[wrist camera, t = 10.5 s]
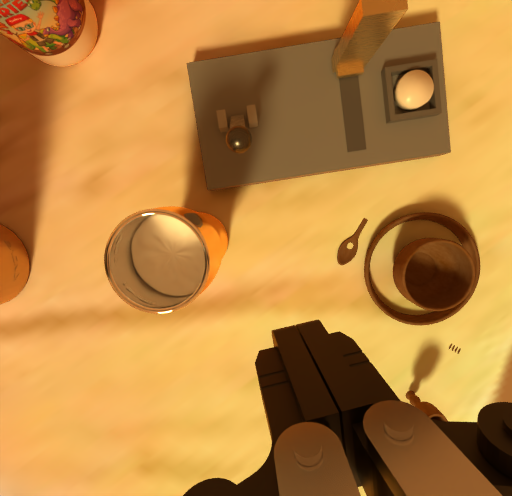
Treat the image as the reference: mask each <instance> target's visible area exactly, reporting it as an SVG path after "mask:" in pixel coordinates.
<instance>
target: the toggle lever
mask: <svg viewBox="0 0 512 496" xmlns="http://www.w3.org/2000/svg"><path fill="white" fill-rule="evenodd" d="M226 144H227V146H228V148H229V149H230V150H231V151H233V152H235V153H244V152H246V151H247V150H248V149H249V148H250V147H251V144H252V135H251V132H250V131H249V130H248V129H247V128H246V127H245V122H244V116H243V114H242V115H236V116H231V121H230V129H229V131H228V132H227V134H226Z"/></svg>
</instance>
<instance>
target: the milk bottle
mask: <svg viewBox="0 0 512 496" xmlns="http://www.w3.org/2000/svg"><path fill="white" fill-rule="evenodd" d="M0 33H1V34H2V35H4V36H5V37H7V38H8V39H10V40H11V41H13V42H14V43H15V44H17V45H18V46H20V47H21V48H23V49H24V50H26V51H27V52H28V53H30V54H31V55H33V56H34V57H36V58H38V59H39V60H41V61H42V62H44V63H47V64H49V65H53V66H60V67H63V66H71V65H75V64H77V63H79V62H81V61H83V60H84V59H85V58H86V57H87V56H88V55H89V54H90V53H91V51H92V50H93V48H94V46H95V44H96V40H97V36H98V24H97V17H96V14H95V11H94V9H93V7H92V5H91V3H90V2H89V0H0Z"/></svg>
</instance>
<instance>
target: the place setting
mask: <svg viewBox="0 0 512 496" xmlns="http://www.w3.org/2000/svg"><path fill="white" fill-rule="evenodd" d="M412 220H429V221H434V222H437V223H439V224H441V225H443V226H445V227H447V228H448V229H450V230H451V231H452V232H453V233H454V234H455V235H456V236H457V238H458V239H459V241H460V242H461V244H462V246H463V247H462V246H461V245H459V244H458V243H456V242H453V241H450V240H445V239H438V238H424V239H419V240H416V241H414V242H412V243H410V244H408V245H407V246H405V247H404V248H403V249H402V250H401V251H400V253H399V254H398V256H397V258H396V260H395V262H394V266H393V278H394V282H395V285H396V287H397V288H398V290H399V291H400V293H401V294H402V295H403V296H404V297H405V298H406V299H408V300H409V301H411V302H412V303H414V304H416V305H417V306H419V307H421V308H423V309H426V310H430V311H434V312H431V313H428V314H424V315H407V314H403V313H400V312H397V311H395V310H393V309H391V308H390V307H388V306H387V305H385V304H384V303H383V302H382V301H381V300H380V299H379V297H378V296H377V294H376V293H375V291H374V289H373V287H372V283H371V280H370V272H369V268H370V260H371V256H372V253H373V251H374V249H375V247H376V245H377V243H378V242H379V240H380V239H381V238H382V237H383V236H384V235H385V234H386V233H387V232H388V231H389V230H391V229H392V228H394V227H395V226H397V225H399V224H401V223H404V222H407V221H412ZM367 221H368V220H367V219H365V218H364V219H363V220H362V222H361V224H360V226H359V227H358V229H357V231H356V232H355V234H354V235H353V236H352V237H350V238H348V239H347V240H345V241H344V242H343V243H342V244H341V246H340V248H339V250H338V255H337V260H338V263H339V264H340V265H344V264H346V263H348V262H350V261H351V260H352V259H353V258H354V256H355V255H356V252H357V248H358V238H359V235H360V233H361V231H362V229H363V228H364V226H365V224H366V223H367ZM349 242H351V243H353V245H354V246H353V248H352V249H348V248H347V244H348V243H349ZM479 274H480V257H479V252H478V249H477V246H476V244H475V242H474V240H473V238H472V237H471V235H470V234H469V233H468V231H467V230H466V229H465V228H464V227H463V226H462V225H461V224H459V223H458V222H456V221H455V220H453V219H451V218H449V217H447V216H444V215H441V214H436V213H415V214H410V215H406V216H404V217H401V218H399V219H397V220H395V221H393V222H391V223H390V224H388V225H387V226H386V227H385V228H384V229H382V230H381V231H380V233H379V234H378V235H377V236H376V237H375V239H374V240H373V242H372V244H371V245H370V247H369V250H368V252H367V255H366V259H365V266H364V277H365V282H366V286H367V289H368V292H369V294H370V296H371V298H372V299H373V301H374V302H375V304H376V305H377V306H378V307H379V308H380V309H381V310H382V311H383V312H384V313H385V314H387V315H388V316H390V317H391V318H393V319H395V320H397V321H399V322H402V323H405V324H411V325H429V324H434V323H438V322H441V321H443V320H445V319H447V318H449V317H451V316H452V315H454V314H456V313H457V312H458V311H459V310H460V309H461V308H462V307H463V306H464V305H465V304H466V303H467V302H468V300H469V299H470V298H471V296H472V294H473V293H474V291H475V288H476V286H477V283H478V279H479ZM451 346H452V344H451V345H450V347H449V349H450V348H451ZM454 347H455V345H454V346H453V348H452V351H453V349H454ZM457 348H458V347H457ZM457 348H456V349H455V352H456V350H457ZM460 349H461V348H460ZM460 349H459V351H458V353H459V352H460ZM406 398H407V399H409V400H410V403H411V404H412V405H414V406H415V407H417V408H419V409H420V410H421V411H423V412H424V413H425V414H426V415H427V416H428V417H429V418H430V419H433V420H438V421H447V419H446V418H445V416H444V415H443V414H442V413H441V412H440V411H439V410H438V409H437V408H436V407H435V406H434V405H432V404H431V403H428V402H420V399H419V397H418V396H416V395H415V393H414V392H413V391H408V392H407V393H406Z"/></svg>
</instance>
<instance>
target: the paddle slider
mask: <svg viewBox="0 0 512 496" xmlns="http://www.w3.org/2000/svg"><path fill="white" fill-rule="evenodd" d="M407 9H408V4H407V0H359V3H358V5H357V7H356V9H355V11H354V13H353V15H352V17H351V19H350V21H349V23H348V25H347V27H346V29H345V32H344V34H343V36H342V38H341V40H340V42H339V44H338V46H337V48H336V49H335V50H334V54H333V56H332V59H331V63H332V71H333V73H334V72H336V77H337V79H338V78H345V77H351V76H357V75H362V74H363V73H364V67H365V66H366V65H367V63H368V62H369V61H370V59H371V58H372V57H373V55H374V54H375V53H376V51H377V50H378V49H379V47H380V46H381V45H382V43H383V42H384V40H385V39H386V38H387V36H388V35H389V34H390V32H391V31H392V30H393V28H394V27H395V26H396V24H397V23H398V22H399V20H400V19H401V18H402V16H403V15H404V14H405V12H406V11H407Z"/></svg>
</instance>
